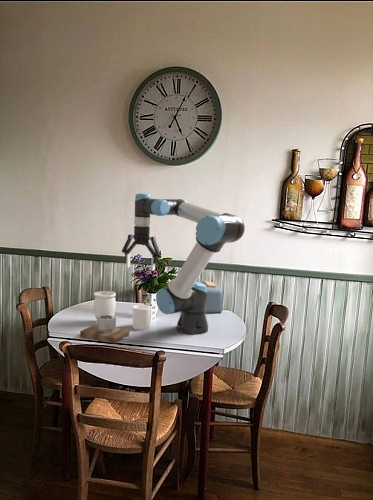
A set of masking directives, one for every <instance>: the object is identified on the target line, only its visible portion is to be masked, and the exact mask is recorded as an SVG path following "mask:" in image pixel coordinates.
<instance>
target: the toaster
mask: <svg viewBox="0 0 373 500" xmlns="http://www.w3.org/2000/svg"><path fill="white" fill-rule="evenodd" d="M201 281H202V282H201V283H203V284H205V285H206V287H207V297H206V312H205V314H212V313H213V314H215V313H217V314H218V313H222V312H223V310H224V305H223V291H222V290H221V288H219V286H218V285H217V284H215V282H213V281H207V280H201Z"/></svg>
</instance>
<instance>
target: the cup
mask: <svg viewBox="0 0 373 500" xmlns="http://www.w3.org/2000/svg"><path fill="white" fill-rule="evenodd" d="M151 309H152V308H151V305H148V304H136V305H133V306H132V328H133V329H134V330H137V329H139V331H144V330H145V329H146V330H149V329H150V326H151Z"/></svg>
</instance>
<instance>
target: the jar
mask: <svg viewBox="0 0 373 500" xmlns="http://www.w3.org/2000/svg"><path fill="white" fill-rule="evenodd" d="M93 294H94V300H93V311H94V316H95V317H94V318H95V320H96V321H95V324H97V317H98V316H100V315H113V316H115V312H116V306H117V304H116V303H117V302H116V295H117V294H116V292H115V291H111V290H100V291H95V292H94V293H93Z"/></svg>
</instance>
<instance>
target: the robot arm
mask: <svg viewBox="0 0 373 500" xmlns="http://www.w3.org/2000/svg"><path fill="white" fill-rule="evenodd" d="M151 215H153V216H157V217H164V216H176V217H180V218H182V219H185V220H189V221H190V222H193V223H196V226H195V241H196V243H195V244H194V246H193V248H192V249H191V251H190V252H189V254H188V256H187V258H186V259H185V261H184V263H183V264H182V266H181V268H180V269H179V271H178V273H177V275H176V276H175V278H174V279H171V280H169V281H168V283H167V285H166V286H165V288H161V289H159V290H158V291H156V294H155V295H156V296H155V301H156V306H157V309H159V311H160V313H162V314H163V315H174V314H177V313H180V315H179V317H178V321H177V323H176V330H177V331H179V332H180V331H181V333H183V332H184V334H188V333H189V334H190V335H199V334H200V335H201V334H206V333H207V332H208V331H209V323H208V319H207V315H206V313H205V312H206V297H207V287H206V285H205V284H203V283H202V282H199V281H197V280H198V279H199V277H200V276H201V274H202V273H203V271H204V270H205V268H206V266H207V265H208V263H209V261H210V260H211V259H212V257H213V256H214V255H215V254H217V253H219V252H221V250H222V248H223V247H224V245H225V244H227V243H228V244H230V243H234V242H235V243H236V242H237V241H239V240H240V239H241V238H242V237H243V236H244V233H245V230H246V227H245V223H244V221H243V218H241V217H240V216H238V215H236V214H235V215H234V214H232V213H231V214H230V213H229V212H228V213H227V212H224V213H221V212H217V211H214V210H211V209H208V208H205V207H202V206H199V205H196V204H193V203H189V202H188V201H187V199H181V198H177V199H175V198H173V199H172V198H171V199H170V198H152V195H151V194H150V193H136V194H135V197H134V220H133V221H134V222H133V224H134V226H133V233H134V234H128V235H127V240H126V242H125V243H124V245H123V246H122V247H123V248H122V249H121V253H123V254H124V255H125V256H124V260H125V261H126V265H125V267H126V268H127V269H128V268H130V267H131V256H132V254H131V253H130V252H132V250H133V249H134V248H135V246H137V245H141V246H145V247H146V248H147V250H148V251H149V253H150V254H151V256H152V257H151V265H150V266H151V267H150V271H151V272H153V271H155V270H156V265H157V264H158V257H160V256H162V253H161V250H160V249H159V246H158V243H157V240H156V236H150V232H151V230H150V229H151V227H150V225H151ZM132 240H134V241H133V242H132ZM131 242H132V243H131ZM130 244H131V245H130Z"/></svg>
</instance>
